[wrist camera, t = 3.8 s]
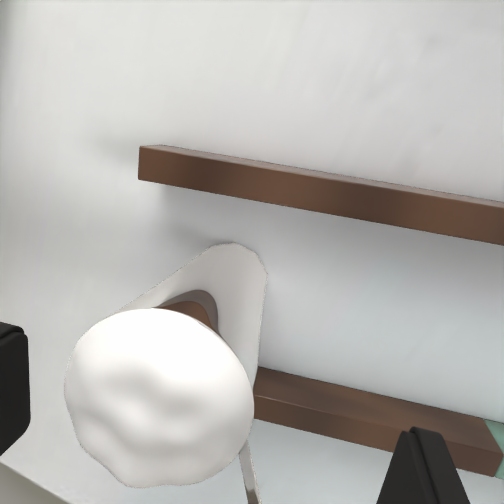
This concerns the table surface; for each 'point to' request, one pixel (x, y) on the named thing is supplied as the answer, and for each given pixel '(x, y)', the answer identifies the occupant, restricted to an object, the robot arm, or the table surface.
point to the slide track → (363, 208)
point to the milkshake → (174, 375)
